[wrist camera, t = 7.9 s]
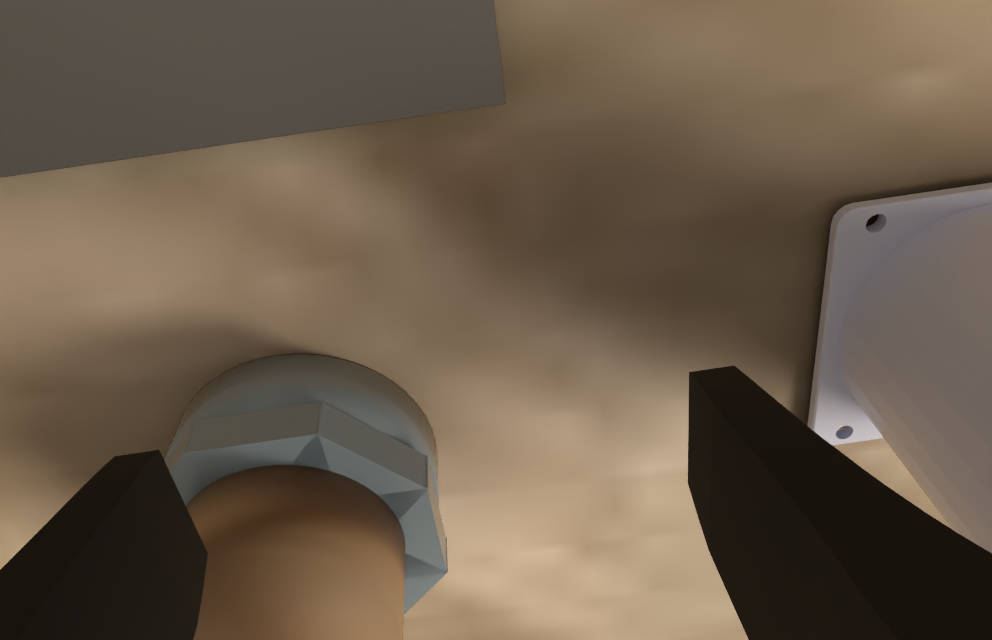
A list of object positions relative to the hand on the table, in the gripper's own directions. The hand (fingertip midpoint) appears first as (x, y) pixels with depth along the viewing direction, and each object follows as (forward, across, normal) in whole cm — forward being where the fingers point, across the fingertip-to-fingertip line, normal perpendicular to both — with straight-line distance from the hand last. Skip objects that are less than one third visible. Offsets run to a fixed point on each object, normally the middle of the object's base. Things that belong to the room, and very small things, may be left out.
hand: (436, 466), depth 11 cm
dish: (+10, +5, +8) cm, 14 cm away
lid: (+6, +5, +8) cm, 11 cm away
